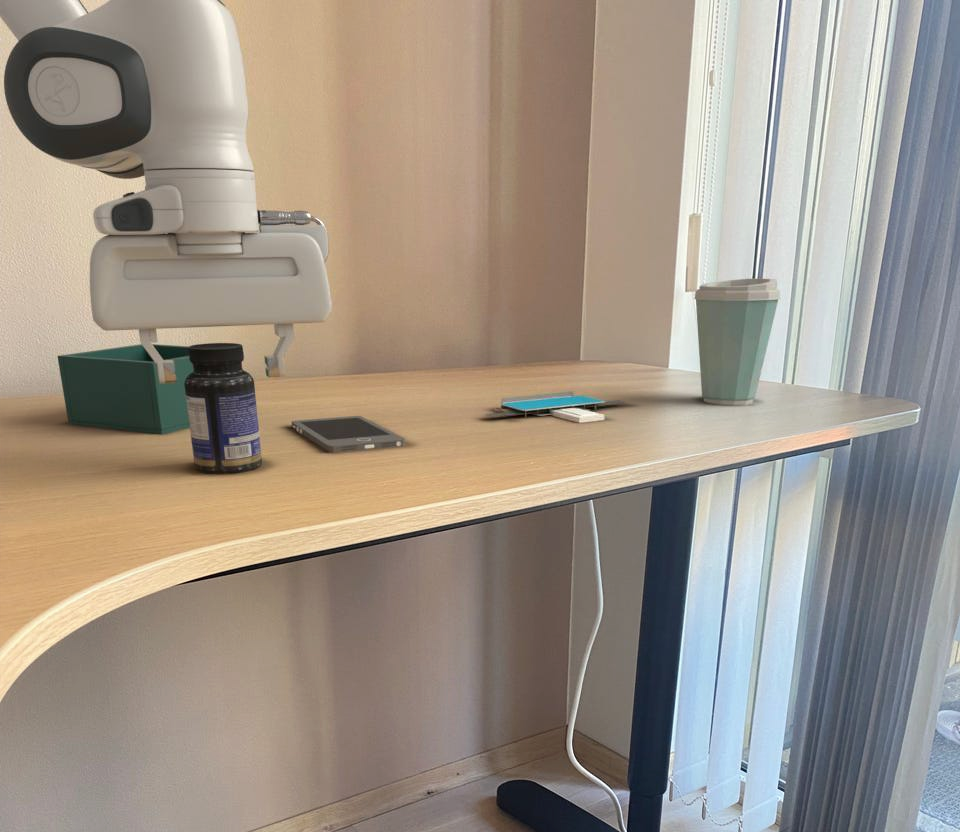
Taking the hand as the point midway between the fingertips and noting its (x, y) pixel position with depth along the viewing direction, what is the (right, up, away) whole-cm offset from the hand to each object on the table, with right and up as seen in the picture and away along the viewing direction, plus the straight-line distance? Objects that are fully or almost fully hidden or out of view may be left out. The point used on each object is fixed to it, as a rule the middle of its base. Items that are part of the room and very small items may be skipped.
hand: (222, 379), depth 86 cm
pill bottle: (0, -8, +3) cm, 8 cm away
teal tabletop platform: (+33, +4, +29) cm, 44 cm away
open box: (-14, +2, +25) cm, 29 cm away
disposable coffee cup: (+55, +7, +38) cm, 67 cm away
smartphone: (+9, -2, +16) cm, 19 cm away
